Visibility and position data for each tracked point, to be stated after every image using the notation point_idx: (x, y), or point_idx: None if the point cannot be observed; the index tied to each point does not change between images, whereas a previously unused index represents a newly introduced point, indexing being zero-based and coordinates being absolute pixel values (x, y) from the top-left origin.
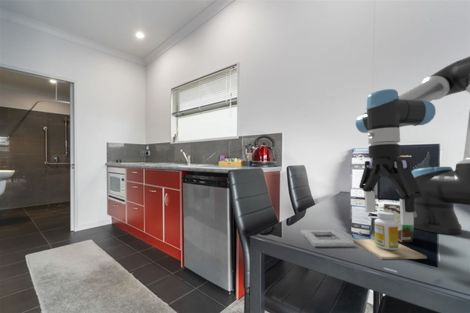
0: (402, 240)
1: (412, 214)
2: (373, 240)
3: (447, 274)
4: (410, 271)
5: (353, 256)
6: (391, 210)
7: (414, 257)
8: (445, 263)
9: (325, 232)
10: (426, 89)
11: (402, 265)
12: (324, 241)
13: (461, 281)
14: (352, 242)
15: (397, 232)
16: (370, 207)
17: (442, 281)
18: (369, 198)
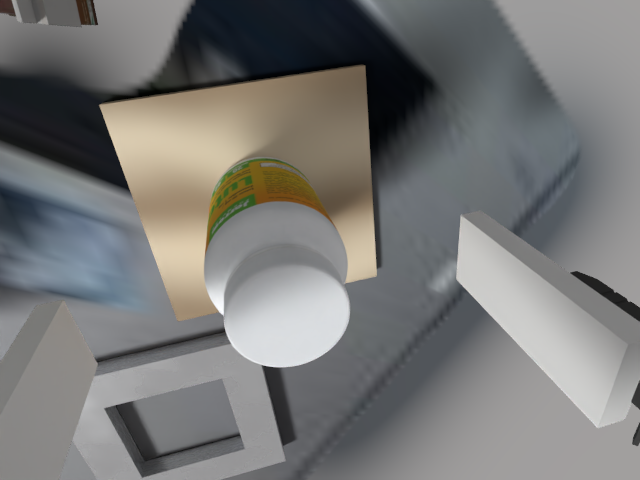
0: (95, 19)
1: (529, 250)
2: (163, 226)
3: (494, 98)
4: None
5: (354, 350)
6: None
7: (367, 133)
8: (409, 6)
9: (114, 424)
10: None
11: (422, 221)
12: (264, 434)
13: (538, 90)
14: None
15: (319, 203)
16: (68, 373)
17: (527, 160)
18: (33, 475)
